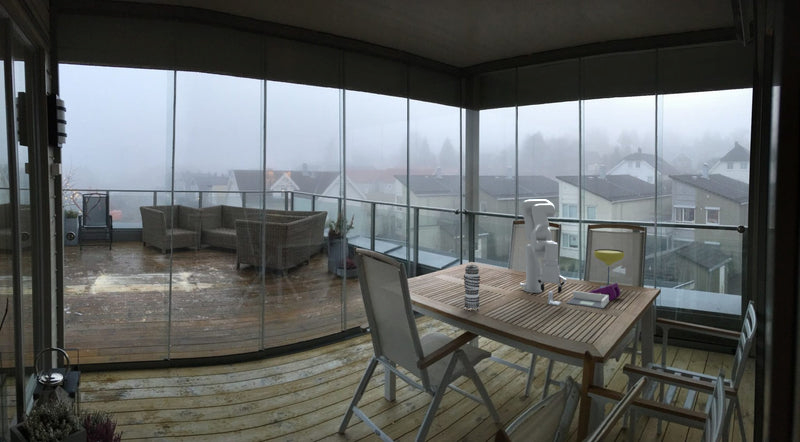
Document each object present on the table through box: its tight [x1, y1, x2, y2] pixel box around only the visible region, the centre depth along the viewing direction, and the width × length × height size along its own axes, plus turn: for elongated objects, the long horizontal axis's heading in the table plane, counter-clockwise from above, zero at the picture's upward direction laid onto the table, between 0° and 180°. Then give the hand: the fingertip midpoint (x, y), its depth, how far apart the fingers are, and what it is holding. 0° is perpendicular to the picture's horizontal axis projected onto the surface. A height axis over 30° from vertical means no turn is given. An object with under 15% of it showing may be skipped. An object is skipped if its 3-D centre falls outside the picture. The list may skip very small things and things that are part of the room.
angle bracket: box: [547, 290, 562, 306], centre depth 271 cm, size 6×6×7 cm
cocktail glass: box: [593, 248, 625, 288], centre depth 307 cm, size 18×18×25 cm
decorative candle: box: [463, 264, 481, 309], centre depth 262 cm, size 9×9×25 cm
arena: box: [566, 290, 610, 310], centre depth 271 cm, size 20×15×5 cm
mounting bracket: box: [586, 282, 621, 302], centre depth 284 cm, size 9×8×18 cm
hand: (551, 292), depth 272 cm, fingers open, 9 cm apart
